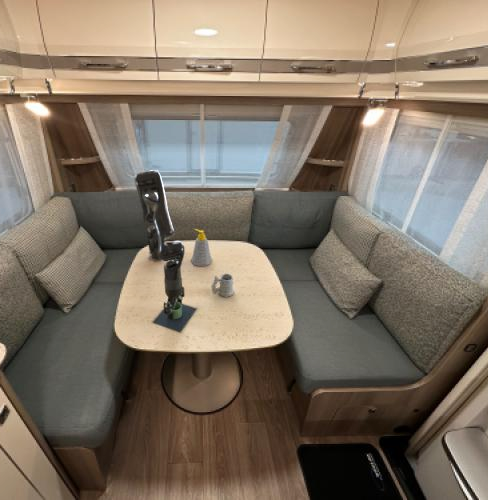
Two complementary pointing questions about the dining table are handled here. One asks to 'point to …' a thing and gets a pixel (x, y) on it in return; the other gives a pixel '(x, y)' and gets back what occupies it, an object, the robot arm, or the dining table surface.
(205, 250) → the soap bottle
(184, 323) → the placemat
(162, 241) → the robot arm
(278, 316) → the dining table surface
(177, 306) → the green cup
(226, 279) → the mug
